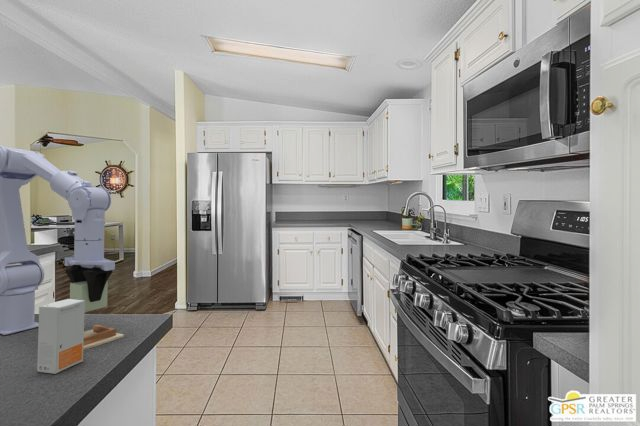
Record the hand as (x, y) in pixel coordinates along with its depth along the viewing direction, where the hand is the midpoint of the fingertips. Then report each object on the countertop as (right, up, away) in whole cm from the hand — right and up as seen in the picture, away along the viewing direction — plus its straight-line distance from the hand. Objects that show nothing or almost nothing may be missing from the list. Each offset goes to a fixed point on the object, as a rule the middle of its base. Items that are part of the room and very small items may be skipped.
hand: (88, 299), depth 82 cm
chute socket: (0, -9, -1) cm, 9 cm away
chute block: (0, -2, 0) cm, 2 cm away
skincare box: (+4, -9, -14) cm, 17 cm away
